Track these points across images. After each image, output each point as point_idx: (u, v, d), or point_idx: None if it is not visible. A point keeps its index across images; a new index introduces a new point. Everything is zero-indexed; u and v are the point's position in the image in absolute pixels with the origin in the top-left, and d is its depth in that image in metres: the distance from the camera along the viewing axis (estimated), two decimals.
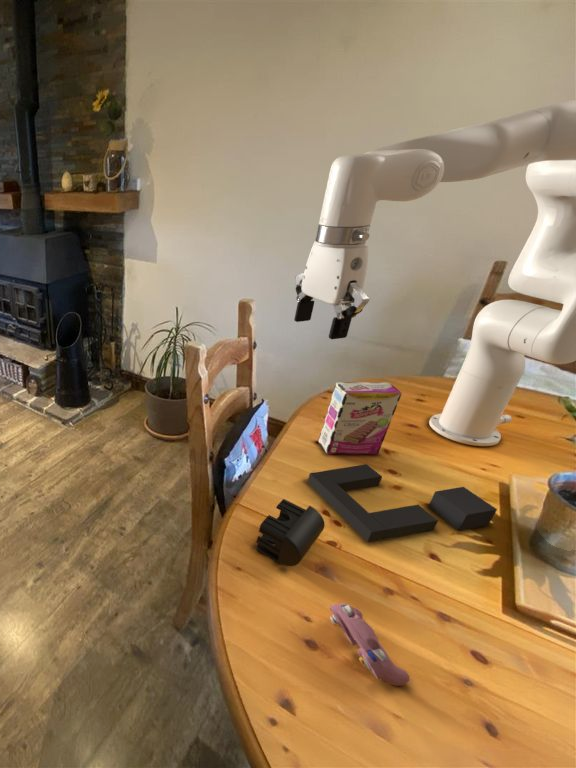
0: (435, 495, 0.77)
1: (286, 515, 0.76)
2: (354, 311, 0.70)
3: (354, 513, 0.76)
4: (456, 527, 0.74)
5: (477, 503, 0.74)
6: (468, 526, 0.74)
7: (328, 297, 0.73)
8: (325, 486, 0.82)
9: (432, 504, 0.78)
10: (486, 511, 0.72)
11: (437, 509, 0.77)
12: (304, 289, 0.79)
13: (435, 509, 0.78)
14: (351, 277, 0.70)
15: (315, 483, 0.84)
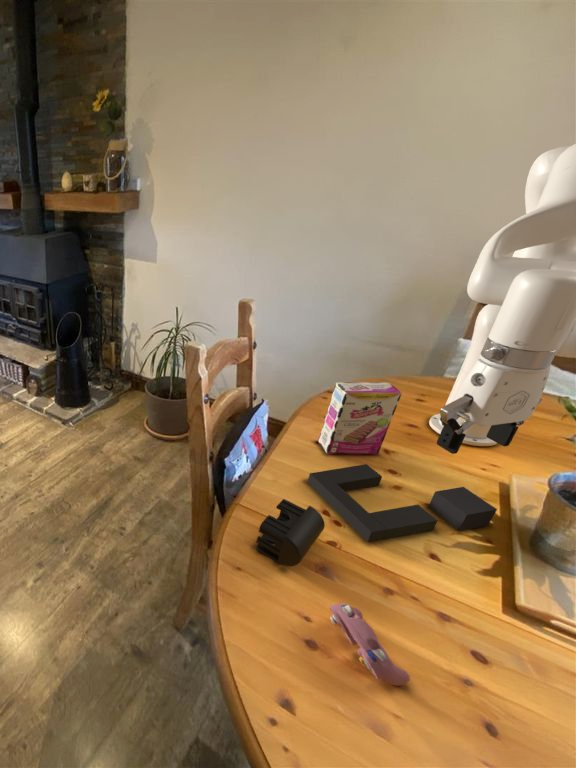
0: (435, 495, 0.77)
1: (286, 515, 0.76)
2: (441, 419, 0.68)
3: (354, 513, 0.76)
4: (456, 527, 0.74)
5: (477, 503, 0.74)
6: (468, 526, 0.74)
7: None
8: (325, 486, 0.82)
9: (432, 504, 0.78)
10: (486, 511, 0.72)
11: (437, 509, 0.77)
12: None
13: (435, 509, 0.78)
14: (468, 390, 0.66)
15: (315, 483, 0.84)
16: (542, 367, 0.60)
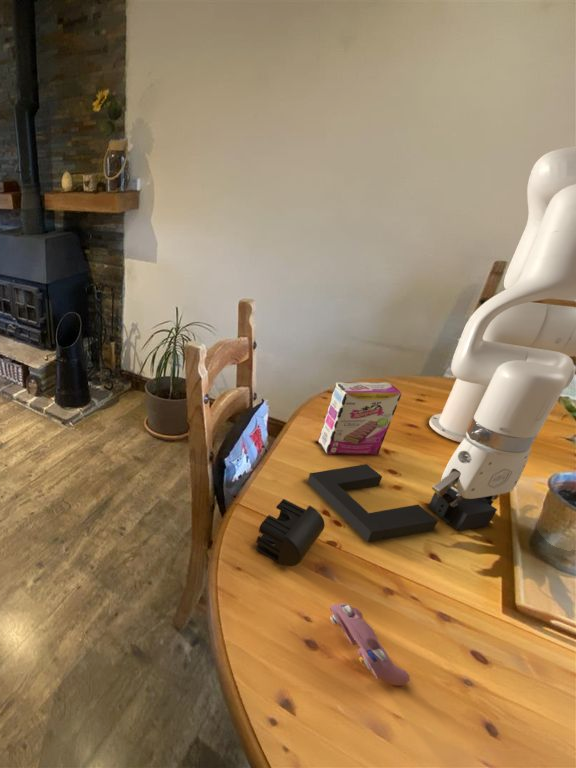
0: (435, 495, 0.77)
1: (286, 515, 0.76)
2: (437, 493, 0.74)
3: (354, 513, 0.76)
4: (456, 527, 0.74)
5: (477, 503, 0.74)
6: (468, 526, 0.74)
7: None
8: (325, 486, 0.82)
9: (432, 504, 0.78)
10: (486, 511, 0.72)
11: None
12: None
13: None
14: (456, 466, 0.71)
15: (315, 483, 0.84)
16: (523, 450, 0.65)
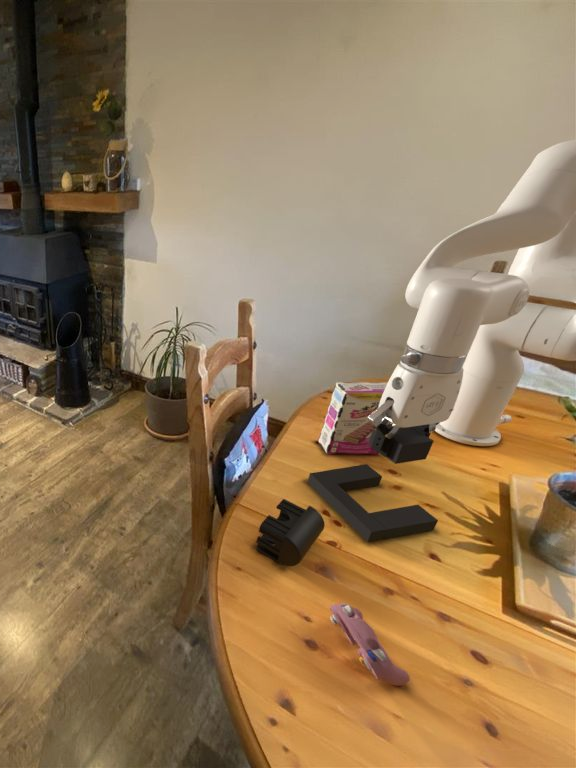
0: (374, 430, 0.75)
1: (286, 515, 0.76)
2: (373, 425, 0.72)
3: (354, 513, 0.76)
4: (393, 460, 0.72)
5: (414, 435, 0.72)
6: (405, 459, 0.72)
7: None
8: (325, 486, 0.82)
9: (371, 440, 0.76)
10: (422, 442, 0.70)
11: None
12: None
13: None
14: (390, 394, 0.69)
15: (315, 483, 0.84)
16: (453, 371, 0.63)
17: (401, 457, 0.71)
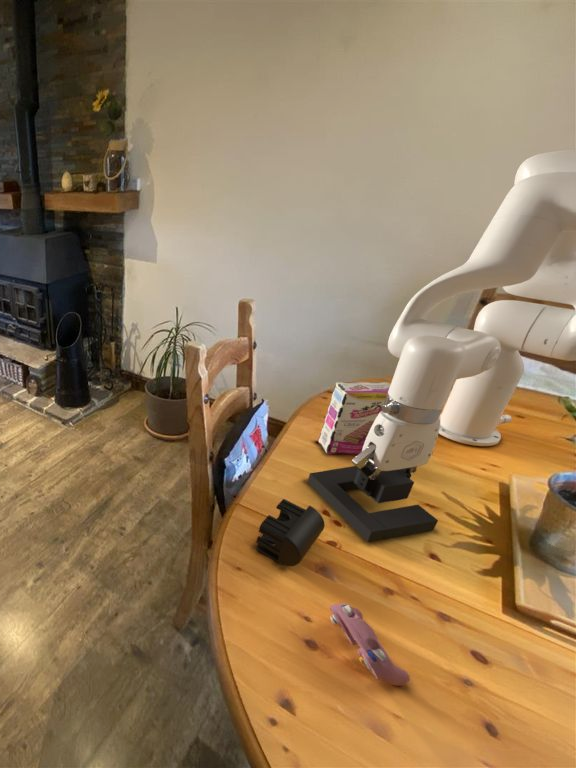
0: (359, 470, 0.80)
1: (286, 515, 0.76)
2: (357, 467, 0.76)
3: (354, 513, 0.76)
4: (376, 500, 0.77)
5: (396, 476, 0.76)
6: (387, 499, 0.76)
7: None
8: (325, 486, 0.82)
9: (357, 479, 0.80)
10: (403, 484, 0.75)
11: None
12: None
13: None
14: (372, 439, 0.73)
15: (315, 483, 0.84)
16: (430, 422, 0.68)
17: (383, 497, 0.76)
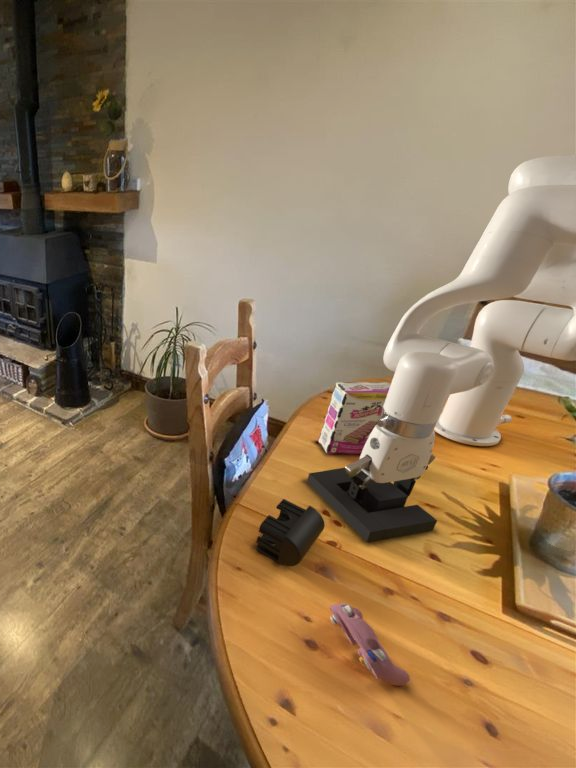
0: None
1: (286, 515, 0.76)
2: (347, 475, 0.77)
3: (353, 514, 0.76)
4: None
5: (391, 490, 0.78)
6: None
7: None
8: (324, 486, 0.82)
9: None
10: (397, 498, 0.76)
11: None
12: None
13: None
14: (368, 452, 0.75)
15: (314, 483, 0.84)
16: (424, 436, 0.69)
17: None
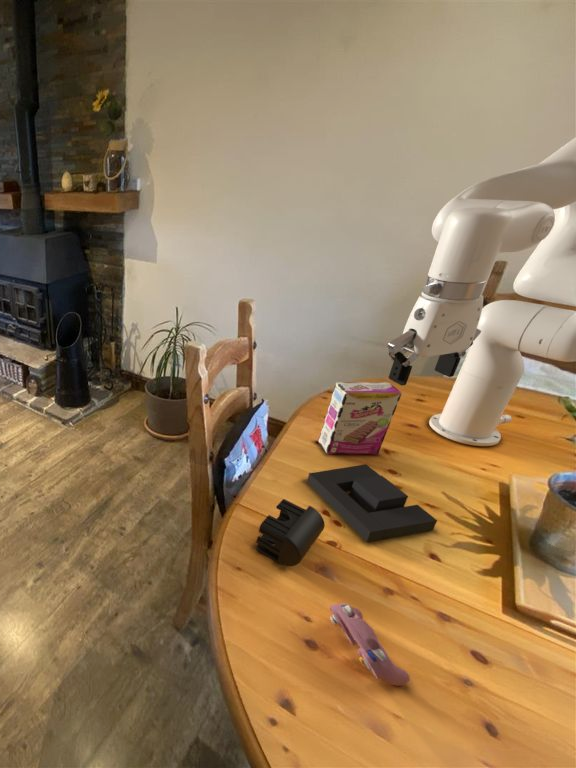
0: (354, 483, 0.81)
1: (286, 515, 0.76)
2: (390, 354, 0.74)
3: (353, 513, 0.76)
4: None
5: (391, 490, 0.78)
6: None
7: None
8: (324, 486, 0.82)
9: (352, 492, 0.82)
10: (397, 498, 0.76)
11: (356, 496, 0.81)
12: None
13: (355, 497, 0.81)
14: (412, 325, 0.72)
15: (314, 483, 0.84)
16: (474, 297, 0.66)
17: None
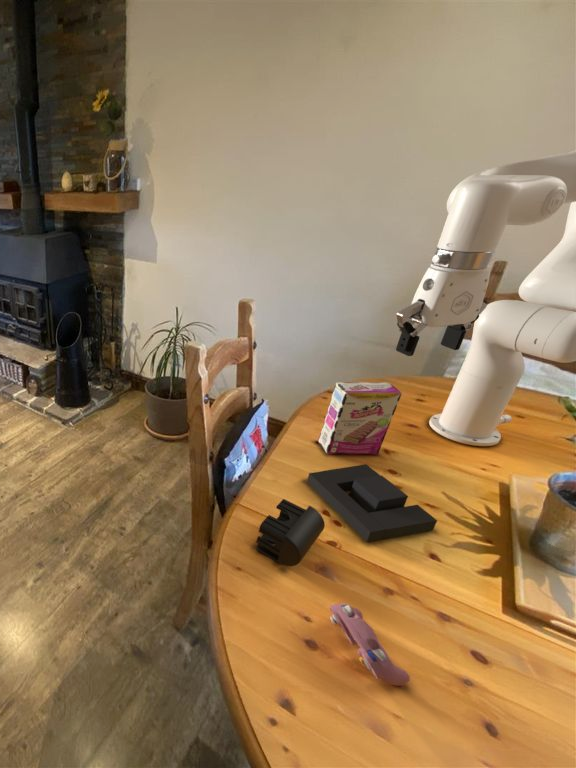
0: (354, 483, 0.81)
1: (286, 515, 0.76)
2: (398, 324, 0.76)
3: (353, 513, 0.76)
4: None
5: (391, 490, 0.78)
6: None
7: None
8: (324, 486, 0.82)
9: (352, 492, 0.82)
10: (397, 498, 0.76)
11: (356, 496, 0.81)
12: None
13: (355, 497, 0.81)
14: (421, 296, 0.74)
15: (314, 483, 0.84)
16: (481, 267, 0.69)
17: None
